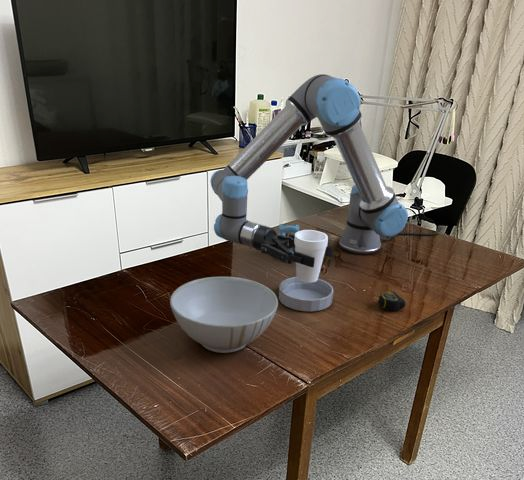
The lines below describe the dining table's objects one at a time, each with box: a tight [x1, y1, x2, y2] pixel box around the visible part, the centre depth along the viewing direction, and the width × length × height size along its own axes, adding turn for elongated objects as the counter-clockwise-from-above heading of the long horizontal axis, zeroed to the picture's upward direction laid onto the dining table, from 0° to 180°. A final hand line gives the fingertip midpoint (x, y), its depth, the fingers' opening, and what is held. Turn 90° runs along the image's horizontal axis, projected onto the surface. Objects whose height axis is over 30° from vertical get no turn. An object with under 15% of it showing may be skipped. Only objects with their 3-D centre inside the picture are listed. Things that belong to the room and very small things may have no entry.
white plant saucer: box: [278, 276, 335, 312], centre depth 164 cm, size 16×16×4 cm
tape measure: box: [378, 291, 407, 311], centre depth 162 cm, size 7×7×4 cm
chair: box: [277, 223, 300, 258], centre depth 190 cm, size 8×8×12 cm
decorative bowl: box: [169, 276, 279, 354], centre depth 140 cm, size 27×27×12 cm
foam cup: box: [294, 229, 329, 283], centre depth 157 cm, size 10×9×13 cm
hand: (322, 257), depth 155 cm, fingers closed on foam cup, 9 cm apart
